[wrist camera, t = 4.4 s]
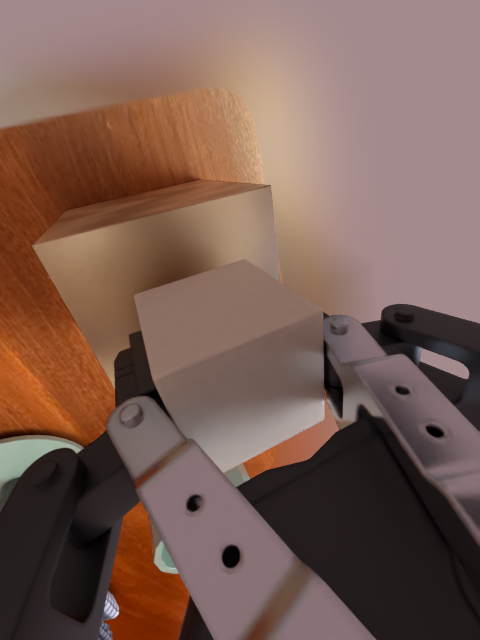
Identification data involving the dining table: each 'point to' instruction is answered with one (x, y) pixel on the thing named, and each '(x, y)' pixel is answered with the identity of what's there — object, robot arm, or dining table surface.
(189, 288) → the block
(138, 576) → the dining table surface
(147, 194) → the stand
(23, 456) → the lid
